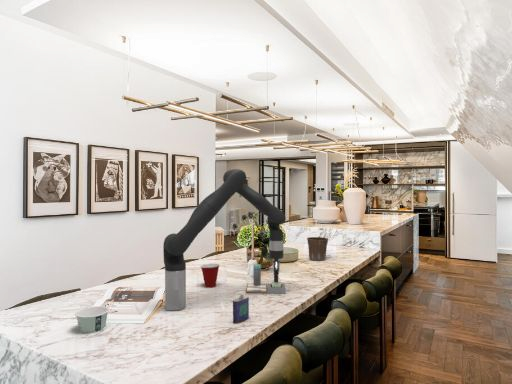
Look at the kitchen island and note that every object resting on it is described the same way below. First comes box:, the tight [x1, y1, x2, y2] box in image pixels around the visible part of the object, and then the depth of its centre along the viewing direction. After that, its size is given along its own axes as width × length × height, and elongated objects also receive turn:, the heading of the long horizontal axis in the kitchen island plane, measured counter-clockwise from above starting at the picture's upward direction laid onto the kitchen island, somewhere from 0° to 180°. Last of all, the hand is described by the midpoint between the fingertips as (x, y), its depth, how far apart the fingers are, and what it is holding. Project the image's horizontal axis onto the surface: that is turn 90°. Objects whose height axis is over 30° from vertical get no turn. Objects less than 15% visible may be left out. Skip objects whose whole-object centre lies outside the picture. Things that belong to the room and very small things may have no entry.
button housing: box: [267, 282, 287, 295], centre depth 189 cm, size 9×9×3 cm
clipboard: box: [245, 283, 268, 295], centre depth 194 cm, size 16×11×1 cm
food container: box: [74, 305, 110, 333], centre depth 140 cm, size 12×12×6 cm
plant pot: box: [306, 236, 329, 262], centre depth 275 cm, size 16×16×16 cm
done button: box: [271, 281, 282, 287], centre depth 189 cm, size 5×5×4 cm
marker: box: [252, 263, 262, 286], centre depth 199 cm, size 4×4×11 cm
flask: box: [232, 293, 250, 325], centre depth 148 cm, size 9×3×11 cm, turn 144°
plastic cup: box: [199, 263, 221, 289], centre depth 200 cm, size 11×11×12 cm
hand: (276, 281), depth 189 cm, fingers closed
